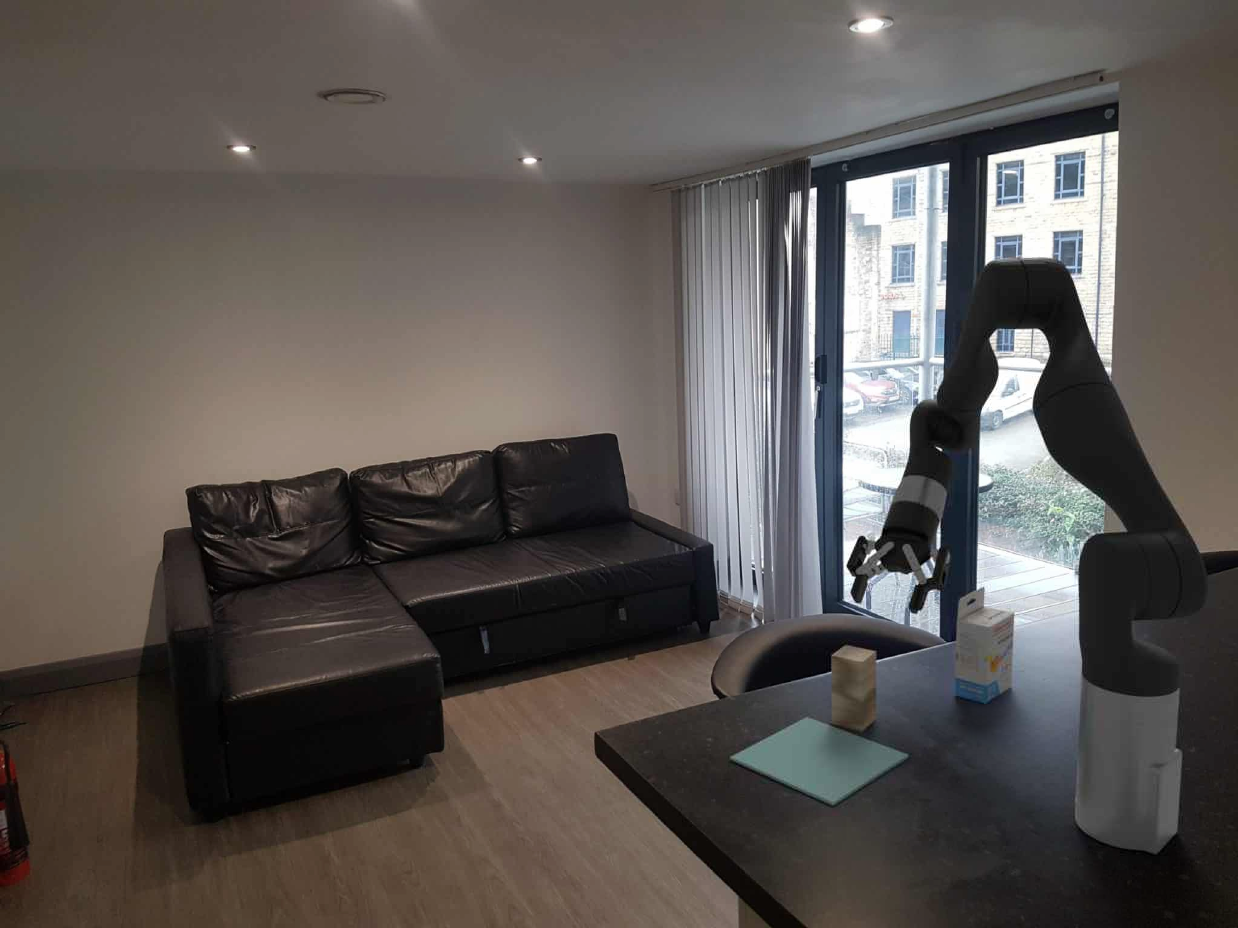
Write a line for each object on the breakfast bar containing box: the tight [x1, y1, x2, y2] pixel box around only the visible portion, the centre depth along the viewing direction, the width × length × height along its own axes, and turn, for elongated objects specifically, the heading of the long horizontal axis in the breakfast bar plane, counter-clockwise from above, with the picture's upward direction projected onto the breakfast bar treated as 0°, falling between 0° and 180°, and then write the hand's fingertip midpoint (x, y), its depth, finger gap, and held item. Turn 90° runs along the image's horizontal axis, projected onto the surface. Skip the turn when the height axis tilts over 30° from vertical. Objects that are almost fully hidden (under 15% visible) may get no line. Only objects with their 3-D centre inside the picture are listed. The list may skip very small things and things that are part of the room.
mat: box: [729, 716, 909, 807], centre depth 122 cm, size 16×16×1 cm
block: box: [830, 644, 877, 732], centre depth 131 cm, size 4×4×10 cm
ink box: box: [954, 586, 1015, 705], centre depth 138 cm, size 8×5×15 cm, turn 134°
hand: (884, 606), depth 137 cm, fingers open, 8 cm apart
